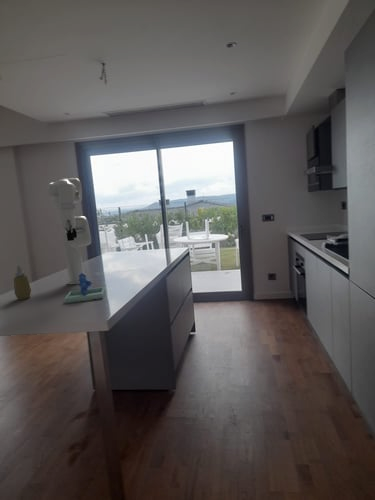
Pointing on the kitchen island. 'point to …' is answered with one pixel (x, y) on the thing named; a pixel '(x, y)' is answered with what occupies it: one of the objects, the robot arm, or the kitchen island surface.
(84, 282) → the grapes
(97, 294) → the tray
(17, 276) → the squeeze bottle
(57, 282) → the kitchen island surface
